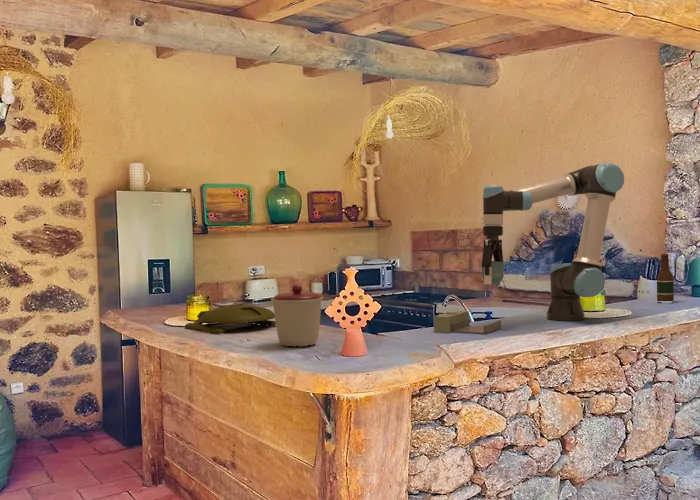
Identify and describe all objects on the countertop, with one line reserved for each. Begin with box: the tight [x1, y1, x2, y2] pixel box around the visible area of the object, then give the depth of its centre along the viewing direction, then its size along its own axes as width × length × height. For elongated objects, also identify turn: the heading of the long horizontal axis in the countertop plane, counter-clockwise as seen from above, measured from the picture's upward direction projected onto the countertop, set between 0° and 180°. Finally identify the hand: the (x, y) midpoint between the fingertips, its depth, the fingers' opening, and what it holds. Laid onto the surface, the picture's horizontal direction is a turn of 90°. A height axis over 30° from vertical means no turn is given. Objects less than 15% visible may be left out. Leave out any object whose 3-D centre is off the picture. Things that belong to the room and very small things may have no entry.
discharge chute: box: [451, 318, 502, 335], centre depth 267 cm, size 14×16×3 cm
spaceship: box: [184, 304, 276, 335], centre depth 292 cm, size 35×31×10 cm
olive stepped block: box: [433, 310, 470, 334], centre depth 273 cm, size 6×20×7 cm, turn 148°
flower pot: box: [480, 260, 505, 286], centre depth 271 cm, size 9×9×9 cm
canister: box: [270, 284, 324, 348], centre depth 243 cm, size 18×18×21 cm
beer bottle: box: [656, 253, 675, 301], centre depth 342 cm, size 8×8×24 cm
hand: (492, 283), depth 271 cm, fingers closed on flower pot, 10 cm apart
